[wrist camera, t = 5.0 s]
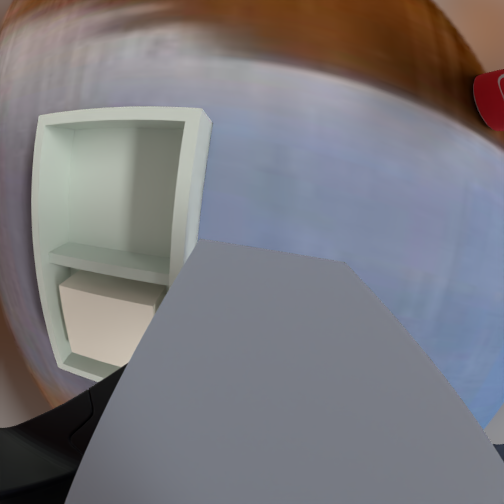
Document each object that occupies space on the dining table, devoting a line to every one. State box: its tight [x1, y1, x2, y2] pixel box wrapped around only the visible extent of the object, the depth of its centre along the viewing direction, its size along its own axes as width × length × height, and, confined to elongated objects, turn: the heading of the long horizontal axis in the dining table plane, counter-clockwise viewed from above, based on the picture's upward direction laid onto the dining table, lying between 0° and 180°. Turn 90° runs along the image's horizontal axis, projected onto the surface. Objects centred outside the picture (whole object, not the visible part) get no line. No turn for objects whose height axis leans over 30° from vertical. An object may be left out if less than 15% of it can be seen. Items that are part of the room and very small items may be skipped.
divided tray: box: [31, 107, 213, 382], centre depth 18 cm, size 21×12×5 cm, turn 171°
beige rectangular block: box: [59, 269, 166, 367], centre depth 19 cm, size 6×8×4 cm
